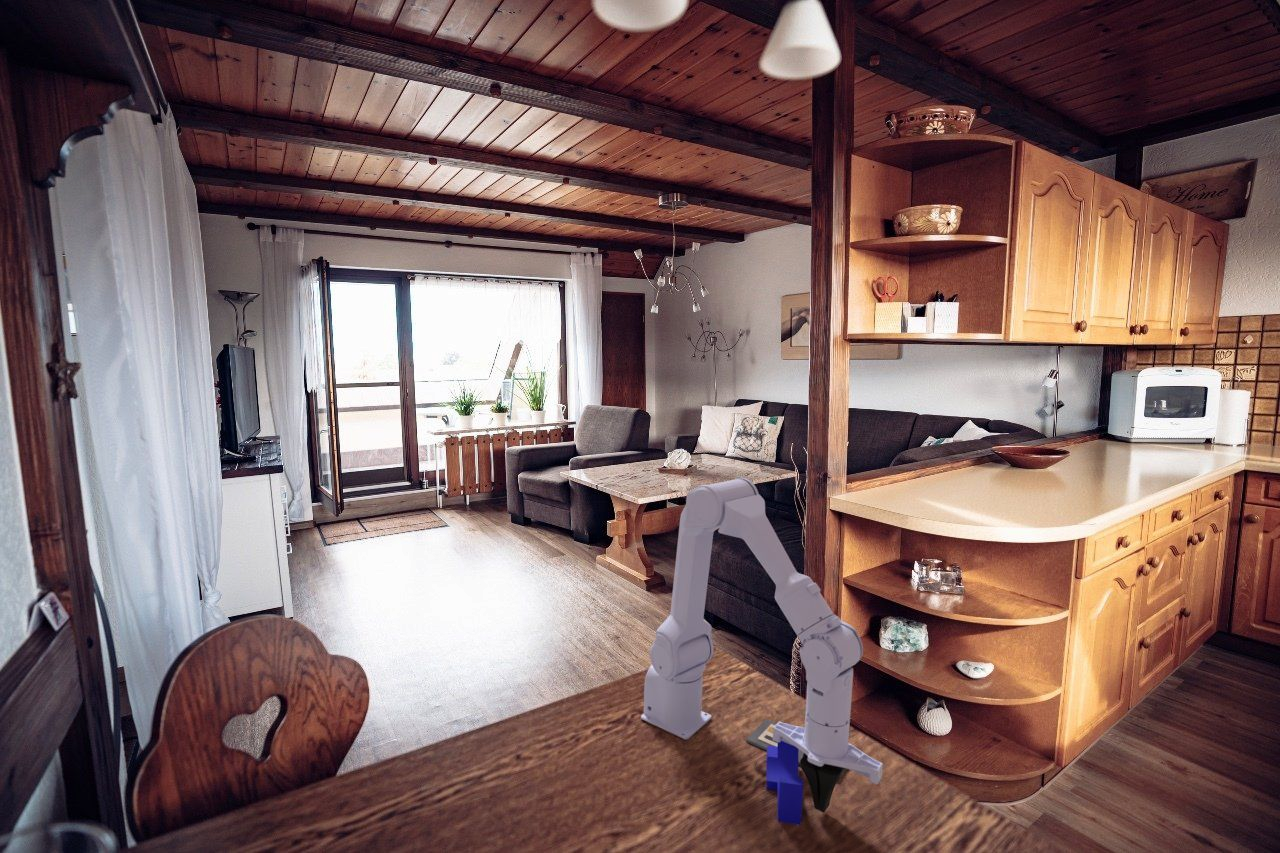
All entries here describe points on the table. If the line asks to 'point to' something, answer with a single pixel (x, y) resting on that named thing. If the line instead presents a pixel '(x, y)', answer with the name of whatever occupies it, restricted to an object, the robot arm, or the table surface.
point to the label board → (769, 738)
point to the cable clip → (785, 781)
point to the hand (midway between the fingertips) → (821, 806)
